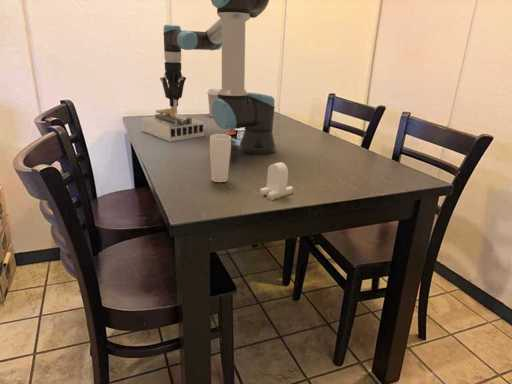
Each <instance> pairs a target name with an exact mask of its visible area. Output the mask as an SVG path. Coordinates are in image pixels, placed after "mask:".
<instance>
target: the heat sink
mask: <svg viewBox="0 0 512 384" xmlns="http://www.w3.org/2000/svg"><path fill="white" fill-rule="evenodd" d="M175 117H176V118H179V119H183V120H188V124H183V125H180V120H179V119H175V122H171V121H168V120H165V119H161V118H158V117H155V115H154V116H147V117H146V116H145V117H141V118H142V132H144V133H146V134H149V135H151V136H154V137H156V138H159V139H161V140H163V141H167V142H169V143H171V142H177V141H183V140H184V141H185V140H188V139H195V138H200V137H204V136H205V121H202V120H199V119H195V118H193V117H188V116H185V115H182V114H179V113H177V114H175Z"/></svg>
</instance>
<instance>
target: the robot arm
mask: <svg viewBox="0 0 512 384" xmlns="http://www.w3.org/2000/svg"><path fill="white" fill-rule="evenodd" d="M210 1H211V4H212V6H214V7H215V8H216V14H217V16H218V17H219V19H218V20H217V21H216V22H214V24H212V25H211V26H210V27H209V28H208V29H207V30H205V31H198V30H197V31H196V30H195V31H194V30H184V29H183V30H182V28H181V26H180V25H177V24H164V26H163V34H162V35H163V49H164V51H163V55H164V70H165V72H164V75H163V76H162V77H160V78H159V80H160V81H161V83H162V88H163V91H164V96H165V98H166V99H169V107H170V108H171V109H174V110H175V114H178V106H179V100H180V98H181V99H182V96H183V93H184V92H183V91H184V87H185V82H186V80H187V77H186V76H184V75H182V62H181V61H182V50H184V51H190V50H191V51H192V50H194V51H195V50H197V51H200V50H204V51H217V50H218V51H219V50H220V49H221V88H220V89H221V90H220V91H219V92H218V99H216V100H214V102H213V104H212V116H213V117H212V119H213V121H214V123H215V124H216V126H218V128H220V129H222V130H236V129H243V128H244V132H243V135H242V138H241V141H240V143H239V150H240V151H242V152H244V153H246V154H250V155H251V154H253V155H269V154H273V153H275V152H276V146H277V145H276V143H275V139H274V132H273V130H274V118H275V108H276V106H275V101H276V100H275V98H274V97H273V96H271V95H267V94H263V93H256V92H248V91H247V90H246V89H245V82H246V81H245V73H246V72H245V69H246V68H245V67H246V23H247V22H248V21H249V20H250V19H253V18H254V19H255V18H257V17H259V16H260V15H261V14H262V13H263V12H264V11H265V10H266V8H267V7H268V6H269V1H270V0H210Z"/></svg>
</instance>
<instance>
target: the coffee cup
mask: <svg viewBox="0 0 512 384" xmlns="http://www.w3.org/2000/svg"><path fill="white" fill-rule="evenodd" d="M221 89H222V88H220V89H219V88H209V89H208V90H207V93H206V94H207V97H208V98H207V99H208V110H209V111H208V112H209V113H208V115H209V117H210V118H213V116H212V104H213V102H214V100H216V99H218V92H219V91H220V90H221Z"/></svg>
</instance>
